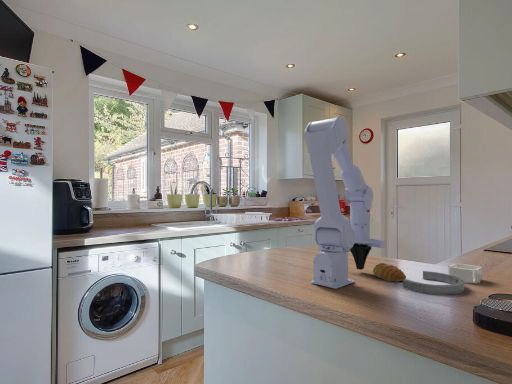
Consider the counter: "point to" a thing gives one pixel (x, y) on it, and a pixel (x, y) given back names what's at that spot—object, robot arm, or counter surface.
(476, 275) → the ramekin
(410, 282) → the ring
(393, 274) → the pastry
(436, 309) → the counter surface
